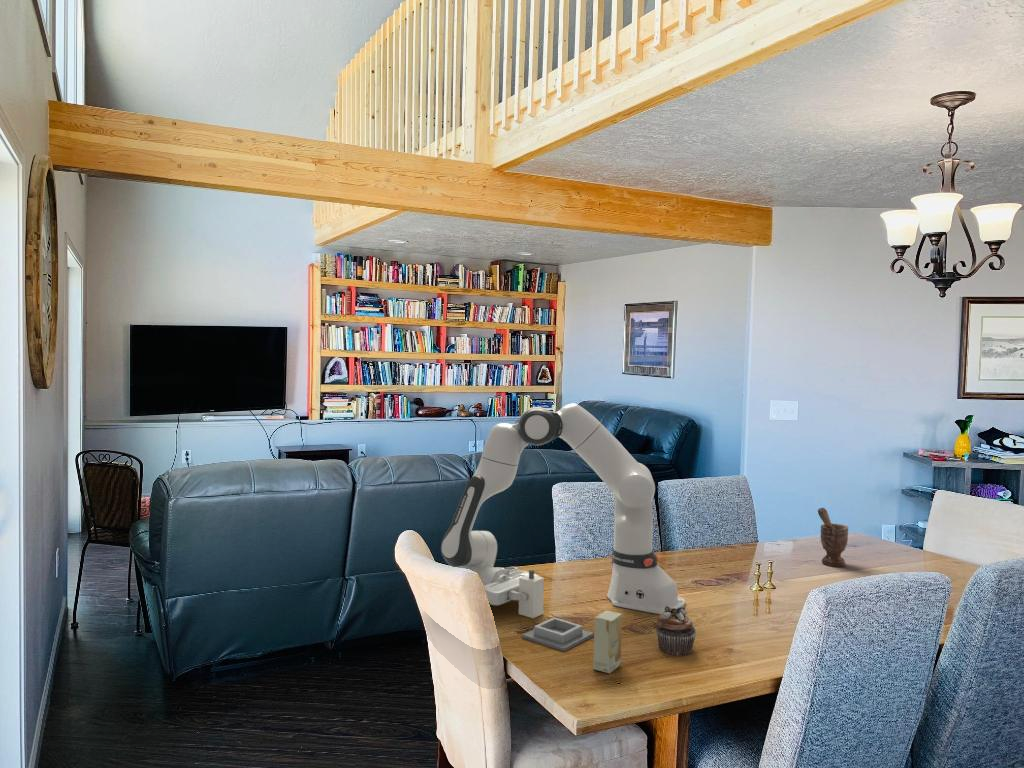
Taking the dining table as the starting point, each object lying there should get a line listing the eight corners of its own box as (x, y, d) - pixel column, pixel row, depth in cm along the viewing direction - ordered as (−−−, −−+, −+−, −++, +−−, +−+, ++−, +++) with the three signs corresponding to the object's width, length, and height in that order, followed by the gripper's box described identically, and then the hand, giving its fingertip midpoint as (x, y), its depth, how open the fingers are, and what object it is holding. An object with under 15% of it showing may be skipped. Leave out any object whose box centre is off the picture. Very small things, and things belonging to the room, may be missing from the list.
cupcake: (658, 656, 183) (659, 615, 183) (653, 640, 193) (654, 601, 192) (699, 657, 183) (700, 616, 182) (691, 641, 192) (692, 602, 192)
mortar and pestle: (838, 571, 253) (840, 511, 251) (812, 566, 258) (814, 507, 257) (850, 564, 261) (852, 506, 260) (824, 558, 267) (826, 502, 266)
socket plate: (593, 636, 195) (594, 625, 195) (564, 651, 185) (564, 640, 185) (552, 623, 203) (552, 612, 203) (522, 637, 193) (522, 626, 193)
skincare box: (609, 674, 173) (611, 621, 172) (592, 669, 175) (593, 617, 174) (621, 664, 178) (622, 613, 178) (604, 660, 181) (605, 609, 180)
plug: (543, 613, 210) (543, 570, 209) (533, 618, 206) (533, 574, 206) (528, 609, 213) (529, 567, 212) (518, 613, 210) (519, 570, 209)
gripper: (470, 581, 209) (509, 592, 201) (517, 565, 225) (555, 574, 216) (470, 604, 210) (509, 616, 201) (517, 586, 226) (555, 596, 217)
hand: (533, 594), depth 209 cm, fingers closed on plug, 4 cm apart
